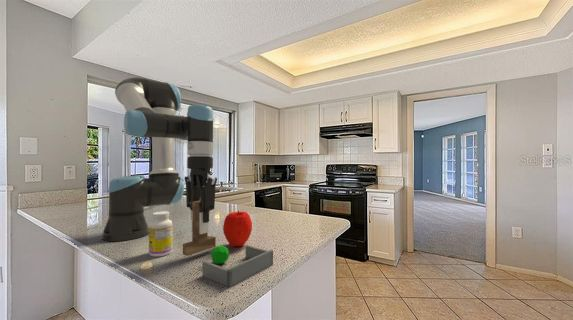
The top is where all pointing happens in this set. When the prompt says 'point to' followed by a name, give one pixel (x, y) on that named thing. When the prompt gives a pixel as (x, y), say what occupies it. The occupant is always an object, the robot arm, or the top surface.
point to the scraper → (198, 240)
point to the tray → (239, 267)
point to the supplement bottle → (160, 235)
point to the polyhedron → (220, 254)
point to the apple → (237, 228)
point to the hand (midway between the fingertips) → (199, 231)
